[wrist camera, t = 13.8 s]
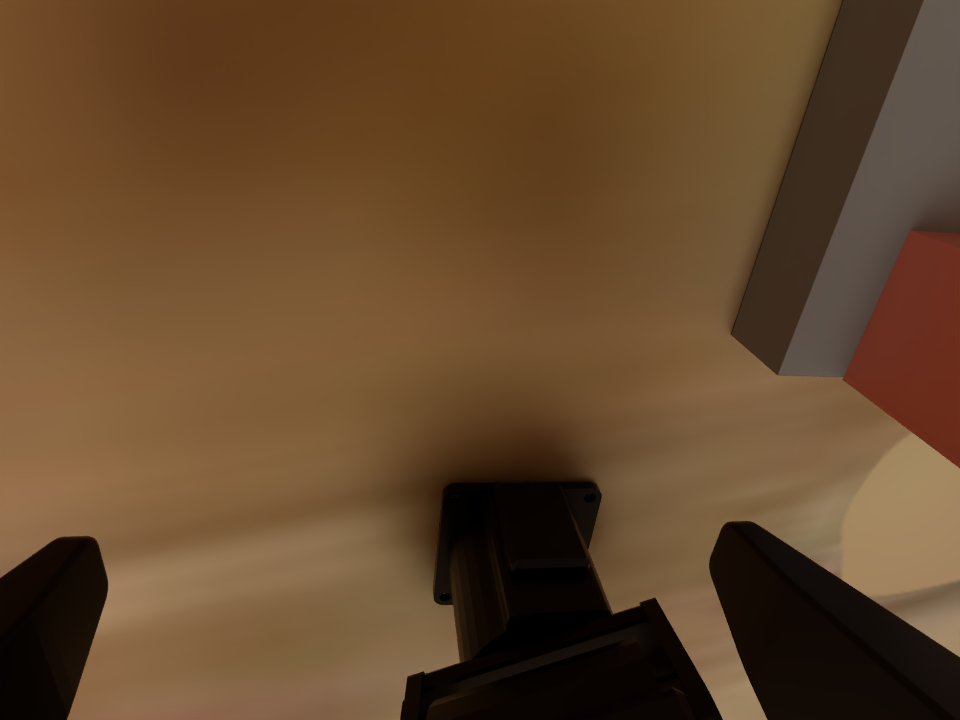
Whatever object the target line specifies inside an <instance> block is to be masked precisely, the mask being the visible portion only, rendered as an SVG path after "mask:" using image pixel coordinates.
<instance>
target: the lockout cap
mask: <svg viewBox="0 0 960 720" xmlns="http://www.w3.org/2000/svg"><path fill="white" fill-rule="evenodd" d="M843 380H844V381H845V382H846V383H848V384H849V385H850V386H852V387H853V388H854V389H856V390H857V391H858V392H860V393H861V394H862V395H864V396H865V397H866V398H867V399H869V400H870V401H871V402H873V403H874V404H875V405H877V406H878V407H879V408H881V409H882V410H883V411H885V412H886V413H887V414H889V415H890V416H891V417H893V418H894V419H895V420H897V421H898V422H899V423H901V424H902V425H903V426H905V427H906V428H907V429H908V430H910V431H911V432H912V433H914V434H915V435H916V436H918V437H919V438H920V439H922V440H923V441H924V442H926V443H927V444H928V445H930V446H931V447H932V448H934V449H935V450H936V451H938V452H939V453H940V454H942V455H943V456H944V457H946V458H947V459H948V460H950V461H951V462H952V463H953V464H955V465H956V466H958V467H959V468H960V234H955V233H941V232H927V231H913V230H910V231H909V233H908V235H907V237H906V240H905V242H904V244H903V246H902V249H901V251H900V253H899V255H898V257H897V260H896V262H895V264H894V266H893V269H892V271H891V273H890V275H889V278H888V280H887V282H886V284H885V286H884V289H883V291H882V293H881V295H880V298H879V300H878V302H877V304H876V306H875V309H874V311H873V313H872V315H871V318H870V320H869V322H868V324H867V326H866V329H865V331H864V333H863V335H862V338H861V340H860V342H859V344H858V346H857V349H856V351H855V353H854V355H853V358H852V360H851V362H850V364H849V366H848V369H847V371H846V373H845V375H844V378H843Z"/></svg>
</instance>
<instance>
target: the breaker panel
mask: <svg viewBox="0 0 960 720" xmlns="http://www.w3.org/2000/svg"><path fill="white" fill-rule="evenodd" d="M910 230H913V231H927V232H941V233H955V234H960V0H843V3H842V6H841V9H840V12H839V15H838V18H837V21H836V24H835V27H834V30H833V33H832V36H831V39H830V42H829V45H828V48H827V51H826V54H825V57H824V60H823V63H822V66H821V69H820V72H819V75H818V78H817V81H816V84H815V87H814V90H813V93H812V96H811V99H810V102H809V105H808V108H807V111H806V114H805V117H804V120H803V123H802V126H801V129H800V132H799V135H798V138H797V141H796V144H795V147H794V150H793V153H792V156H791V159H790V162H789V165H788V167H787V170H786V173H785V176H784V179H783V182H782V185H781V188H780V191H779V194H778V197H777V200H776V203H775V206H774V209H773V212H772V215H771V218H770V221H769V224H768V227H767V230H766V233H765V236H764V239H763V242H762V245H761V248H760V251H759V254H758V257H757V260H756V263H755V266H754V269H753V272H752V275H751V278H750V281H749V284H748V287H747V290H746V293H745V296H744V299H743V302H742V305H741V308H740V311H739V314H738V317H737V320H736V323H735V326H734V329H733V332H732V336H733V337H734V338H735V339H736V340H738V341H739V342H740V343H741V344H742V345H743V346H744V347H746V348H747V349H748V350H749V351H750V352H751V353H753V354H754V355H755V356H756V357H757V358H758V359H759V360H761V361H762V362H763V363H764V364H765V365H766V366H767V367H769V368H770V369H771V370H772V371H773V372H774V373H775V374H777V375H781V376H823V377H844V375H845V373H846V371H847V369H848V366H849V364H850V362H851V360H852V358H853V355H854V353H855V351H856V349H857V346H858V344H859V342H860V340H861V338H862V335H863V333H864V331H865V329H866V326H867V324H868V322H869V320H870V318H871V315H872V313H873V311H874V309H875V306H876V304H877V302H878V300H879V298H880V295H881V293H882V291H883V289H884V286H885V284H886V282H887V280H888V278H889V275H890V273H891V271H892V269H893V266H894V264H895V262H896V260H897V257H898V255H899V253H900V251H901V249H902V246H903V244H904V242H905V240H906V237H907V235H908V233H909V231H910Z"/></svg>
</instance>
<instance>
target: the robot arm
mask: <svg viewBox="0 0 960 720" xmlns="http://www.w3.org/2000/svg"><path fill="white" fill-rule="evenodd" d="M589 493H592V494H591V495H589V496H585V495H587V494H589ZM453 495H460V496H459V497H457V498H451V497H452V496H453ZM601 498H602V494H601V492H600V490H599V488H598V486H597V485H596V484H595V483H593V482H535V483H454V484H450V485H448V486H446V487H445V489H444V490H443V493H442V502H441V512H440V523H439V533H438V544H437V554H436V565H435V575H434V586H433V595H434V601H435V602H436V603H437V604H440V605H453V607H454V616H455V625H456V633H457V642H458V650H459V659H460V663H458V664H455V665H452V666H448V667H445V668H442V669H439V670H436V671H433V672H430V673H426V674H425V673H424V671H423V672H420V673H417V674H414V675H411V676H408V678H407V684H406V692H405V700H404V701H403V703H402V710H401V718H400V720H723V719H722V717H721V715H720V713H719V711H718V709H717V706H716V704H715V702H714V700H713V698H712V696H711V694H710V693H709V691H708V689H707V687H706V685H705V683H704V682H703V680H702V678H701V676H700V675H699V673H698V671H697V669H696V668H695V666H694V664H693V663H692V661H691V659H690V657H689V656H688V654H687V652H686V650H685V649H684V647H683V645H682V643H681V642H680V640H679V638H678V636H677V635H676V633H675V631H674V630H673V628H672V626H671V624H670V623H669V621H668V619H667V617H666V616H665V614H664V612H663V610H662V609H661V607H660V605H659V604H658V602H657V600H656V598H652V599H649V600H646V601H643V602H640V606H637V607H634V608H631V609H627V610H624V611H621V612H618V613H615V614H613V613H612V610H611V608H610V605H609V602H608V600H607V597H606V595H605V592H604V590H603V587H602V584H601V582H600V579H599V577H598V574H597V572H596V569H595V567H594V564H593V561H592V559H591V556H590V554H589V551H588V548H589V544H590V540H591V537H592V533H593V529H594V525H595V521H596V517H597V513H598V510H599V506H600V502H601ZM709 569H710V574H711V577H712V580H713V583H714V586H715V589H716V591H717V594H718V597H719V600H720V603H721V606H722V608H723V611H724V614H725V617H726V620H727V622H728V625H729V628H730V631H731V634H732V637H733V639H734V642H735V645H736V648H737V651H738V653H739V656H740V659H741V661H742V664H743V666H744V669H745V671H746V674H747V676H748V678H749V680H750V683H751V685H752V687H753V689H754V691H755V694H756V696H757V698H758V700H759V702H760V704H761V706H762V709H763V711H764V713H765V715H766V717H767V719H768V720H960V657H959V656H957V655H955V654H954V653H952V652H951V651H949V650H948V649H946V648H945V647H943V646H942V645H940V644H939V643H937V642H936V641H934V640H933V639H931V638H930V637H928V636H926V635H925V634H923V633H922V632H920V631H919V630H917V629H916V628H914V627H913V626H911V625H910V624H908V623H907V622H905V621H904V620H902V619H901V618H899V617H898V616H896V615H894V614H893V613H891V612H890V611H888V610H887V609H885V608H884V607H882V606H881V605H879V604H878V603H876V602H875V601H873V600H872V599H870V598H869V597H867V596H866V595H864V594H862V593H861V592H859V591H858V590H856V589H855V588H853V587H852V586H850V585H849V584H847V583H846V582H844V581H843V580H841V579H840V578H838V577H837V576H835V575H834V574H832V573H830V572H829V571H827V570H826V569H824V568H823V567H821V566H820V565H818V564H817V563H815V562H814V561H812V560H811V559H809V558H808V557H806V556H805V555H803V554H801V553H800V552H798V551H797V550H795V549H794V548H792V547H791V546H789V545H788V544H786V543H785V542H783V541H782V540H780V539H779V538H777V537H776V536H774V535H773V534H771V533H769V532H768V531H766V530H765V529H763V528H762V527H760V526H759V525H757V524H756V523H754V522H750V521H731V522H727V523H726V524H725V525H724V526H723V527H722V529H721V531H720V534H719V536H718V539H717V541H716V544H715V547H714V549H713V552H712V554H711V557H710V562H709ZM107 592H108V579H107V574H106V571H105V567H104V563H103V560H102V556H101V552H100V548H99V545H98V543H97V541H96V540H95V538H93V537H90V536H73V537H60V538H57V539H55V540H53V541H52V542H50V543H49V544H47V545H46V546H45V547H43V548H42V549H40V550H39V551H38V552H36V553H35V554H33V555H32V556H31V557H29V558H28V559H26V560H25V561H24V562H22V563H21V564H19V565H18V566H16V567H15V568H14V569H12V570H11V571H9V572H8V573H7V574H5V575H4V576H2V577H1V578H0V720H67V718H68V715H69V713H70V710H71V707H72V704H73V701H74V698H75V695H76V692H77V689H78V686H79V683H80V679H81V676H82V673H83V670H84V667H85V664H86V661H87V657H88V654H89V651H90V648H91V645H92V642H93V639H94V635H95V632H96V629H97V626H98V623H99V620H100V617H101V614H102V610H103V607H104V604H105V601H106V597H107ZM443 593H445V594H443Z"/></svg>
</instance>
